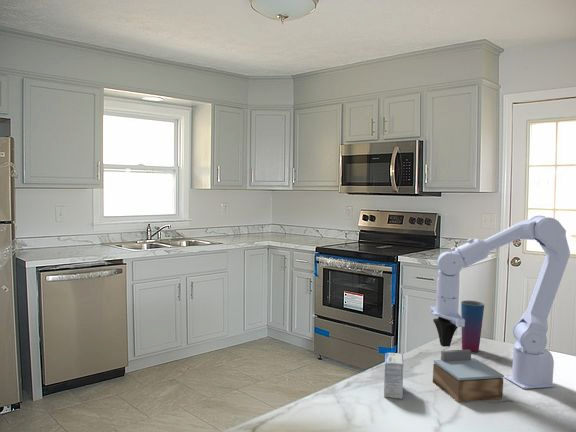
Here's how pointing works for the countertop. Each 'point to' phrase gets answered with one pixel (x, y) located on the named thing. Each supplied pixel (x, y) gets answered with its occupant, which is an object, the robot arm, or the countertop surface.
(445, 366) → the lid
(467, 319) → the cup
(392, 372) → the medicine box
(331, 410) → the countertop surface
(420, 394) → the countertop surface
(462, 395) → the walnut box
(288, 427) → the countertop surface
